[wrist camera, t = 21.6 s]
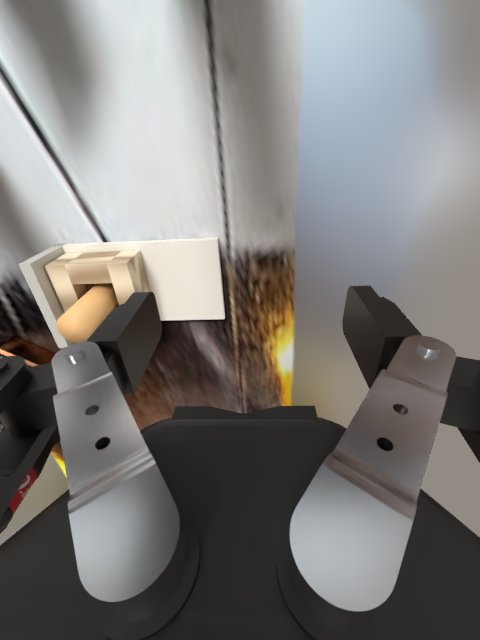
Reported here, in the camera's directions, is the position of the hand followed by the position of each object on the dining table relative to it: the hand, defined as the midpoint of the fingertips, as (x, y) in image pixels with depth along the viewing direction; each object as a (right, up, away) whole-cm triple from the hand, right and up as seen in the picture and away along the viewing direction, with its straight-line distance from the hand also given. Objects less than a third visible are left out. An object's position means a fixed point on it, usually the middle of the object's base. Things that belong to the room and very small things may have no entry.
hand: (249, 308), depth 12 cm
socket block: (-20, +5, +32) cm, 38 cm away
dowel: (-20, +5, +32) cm, 38 cm away
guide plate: (-15, +5, +33) cm, 37 cm away
